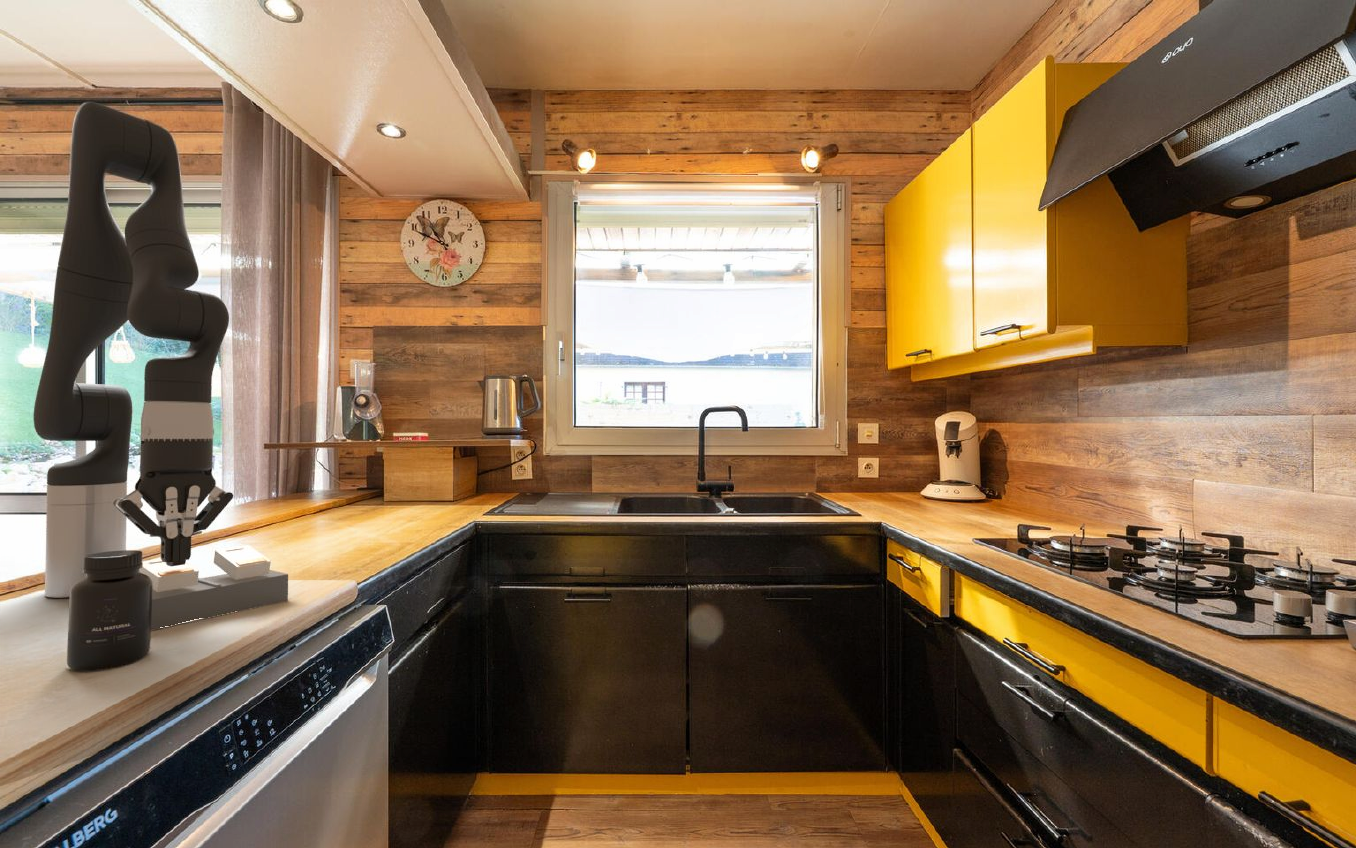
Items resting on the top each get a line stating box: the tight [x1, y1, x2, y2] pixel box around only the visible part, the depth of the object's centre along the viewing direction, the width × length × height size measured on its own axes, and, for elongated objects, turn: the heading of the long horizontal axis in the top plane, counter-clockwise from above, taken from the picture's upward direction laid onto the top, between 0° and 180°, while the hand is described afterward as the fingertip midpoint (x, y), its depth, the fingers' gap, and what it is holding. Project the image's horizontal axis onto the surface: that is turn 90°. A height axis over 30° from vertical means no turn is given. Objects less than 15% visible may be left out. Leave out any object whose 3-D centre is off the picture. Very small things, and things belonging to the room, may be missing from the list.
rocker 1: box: [140, 559, 200, 592], centre depth 82 cm, size 7×4×2 cm, turn 59°
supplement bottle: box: [66, 549, 153, 672], centre depth 68 cm, size 7×7×12 cm
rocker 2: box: [213, 544, 271, 580], centre depth 90 cm, size 7×4×2 cm, turn 59°
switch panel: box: [151, 569, 289, 631], centre depth 86 cm, size 8×18×4 cm, turn 149°
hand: (175, 564), depth 81 cm, fingers closed
